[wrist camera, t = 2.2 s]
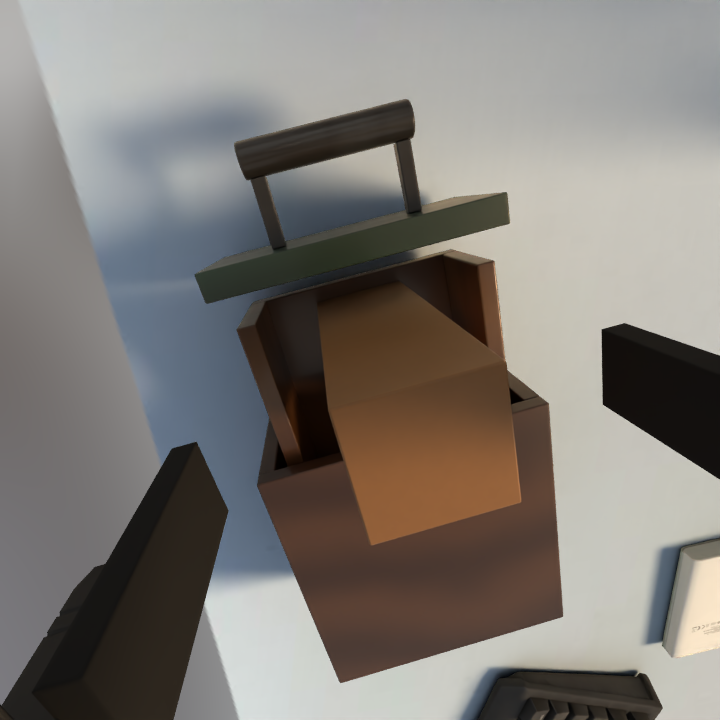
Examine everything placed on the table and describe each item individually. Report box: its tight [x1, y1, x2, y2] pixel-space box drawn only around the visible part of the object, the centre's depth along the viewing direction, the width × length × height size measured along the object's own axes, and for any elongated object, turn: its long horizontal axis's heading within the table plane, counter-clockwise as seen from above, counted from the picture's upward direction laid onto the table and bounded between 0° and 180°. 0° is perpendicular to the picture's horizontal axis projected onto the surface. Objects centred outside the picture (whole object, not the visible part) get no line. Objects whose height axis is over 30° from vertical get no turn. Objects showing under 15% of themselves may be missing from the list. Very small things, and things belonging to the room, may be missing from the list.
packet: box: [317, 281, 521, 545], centre depth 16 cm, size 4×4×12 cm
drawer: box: [195, 99, 510, 467], centre depth 20 cm, size 18×12×6 cm
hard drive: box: [662, 538, 720, 658], centre depth 36 cm, size 2×8×12 cm
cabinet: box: [257, 371, 563, 683], centre depth 24 cm, size 15×14×8 cm
